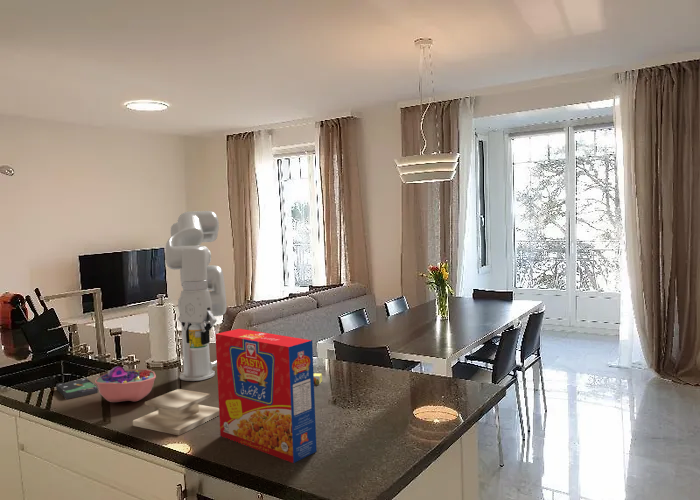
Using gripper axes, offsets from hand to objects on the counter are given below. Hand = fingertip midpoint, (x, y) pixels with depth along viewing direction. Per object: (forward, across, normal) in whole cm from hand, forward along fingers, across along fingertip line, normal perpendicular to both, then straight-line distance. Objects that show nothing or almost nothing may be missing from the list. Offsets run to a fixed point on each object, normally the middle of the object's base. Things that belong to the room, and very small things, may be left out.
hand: (198, 342), depth 175 cm
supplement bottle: (+2, 0, 0) cm, 2 cm away
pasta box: (+20, +38, -18) cm, 47 cm away
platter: (+20, +15, +28) cm, 38 cm away
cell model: (+20, -25, -7) cm, 33 cm away
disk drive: (+20, -51, -7) cm, 55 cm away
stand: (+20, +4, -14) cm, 24 cm away
